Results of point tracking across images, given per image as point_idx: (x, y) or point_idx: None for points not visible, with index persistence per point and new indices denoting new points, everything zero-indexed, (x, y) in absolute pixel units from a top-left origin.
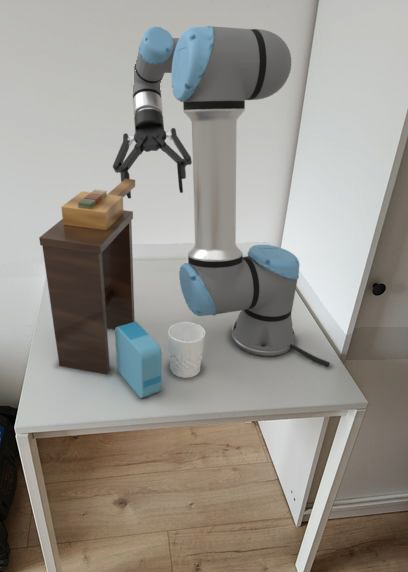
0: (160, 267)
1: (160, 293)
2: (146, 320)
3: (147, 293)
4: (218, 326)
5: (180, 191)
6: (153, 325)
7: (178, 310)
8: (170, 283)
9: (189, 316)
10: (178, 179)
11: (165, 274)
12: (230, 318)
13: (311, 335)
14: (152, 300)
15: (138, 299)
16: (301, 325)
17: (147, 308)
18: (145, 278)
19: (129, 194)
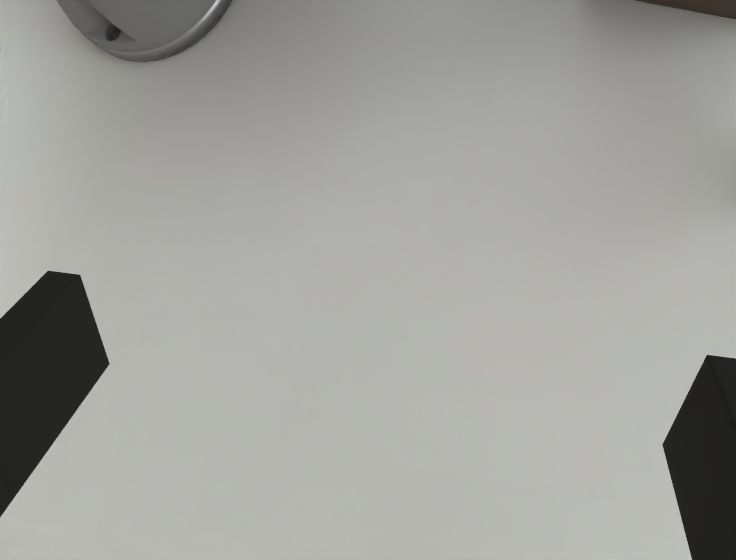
0: (444, 529)
1: (461, 269)
2: (530, 53)
3: (518, 270)
4: (274, 31)
5: (94, 337)
6: (504, 20)
7: (399, 131)
8: (410, 358)
9: (363, 90)
10: (8, 349)
11: (425, 450)
12: (225, 84)
13: (23, 2)
14: (499, 209)
15: (561, 217)
16: (31, 55)
17: (523, 143)
18: (523, 416)
19: (696, 383)
